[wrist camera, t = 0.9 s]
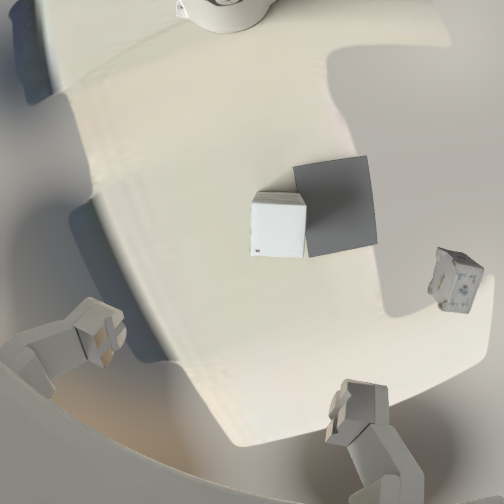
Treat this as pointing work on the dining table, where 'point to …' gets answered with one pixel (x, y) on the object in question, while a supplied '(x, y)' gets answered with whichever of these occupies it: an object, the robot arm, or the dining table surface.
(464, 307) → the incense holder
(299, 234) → the supplement box
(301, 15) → the dining table surface
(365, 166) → the mat
